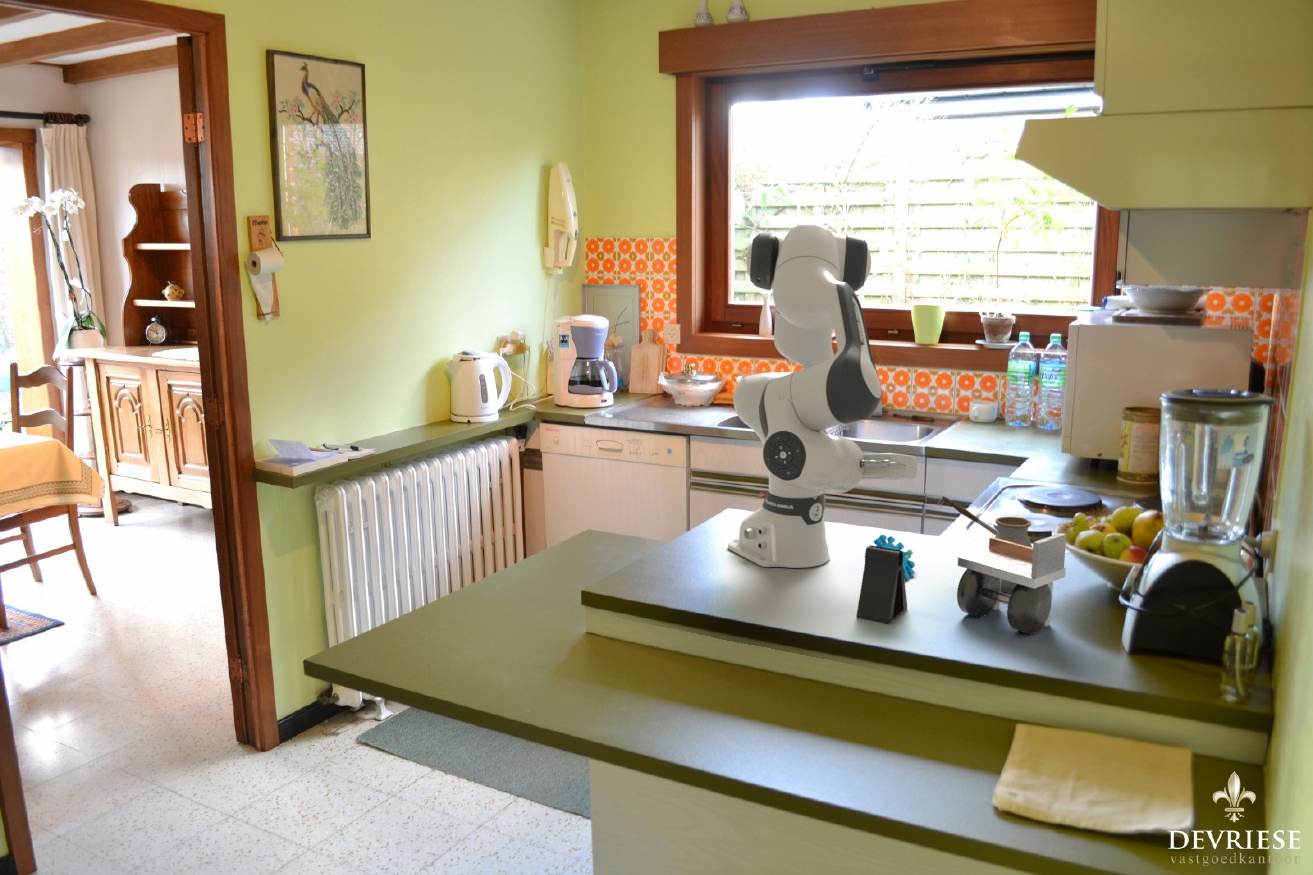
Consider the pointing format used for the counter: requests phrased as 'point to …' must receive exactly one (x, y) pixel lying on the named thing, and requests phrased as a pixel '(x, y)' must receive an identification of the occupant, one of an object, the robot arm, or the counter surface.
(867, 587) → the phone stand
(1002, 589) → the coffee pot
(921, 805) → the counter surface
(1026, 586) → the trolley
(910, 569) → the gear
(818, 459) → the robot arm
